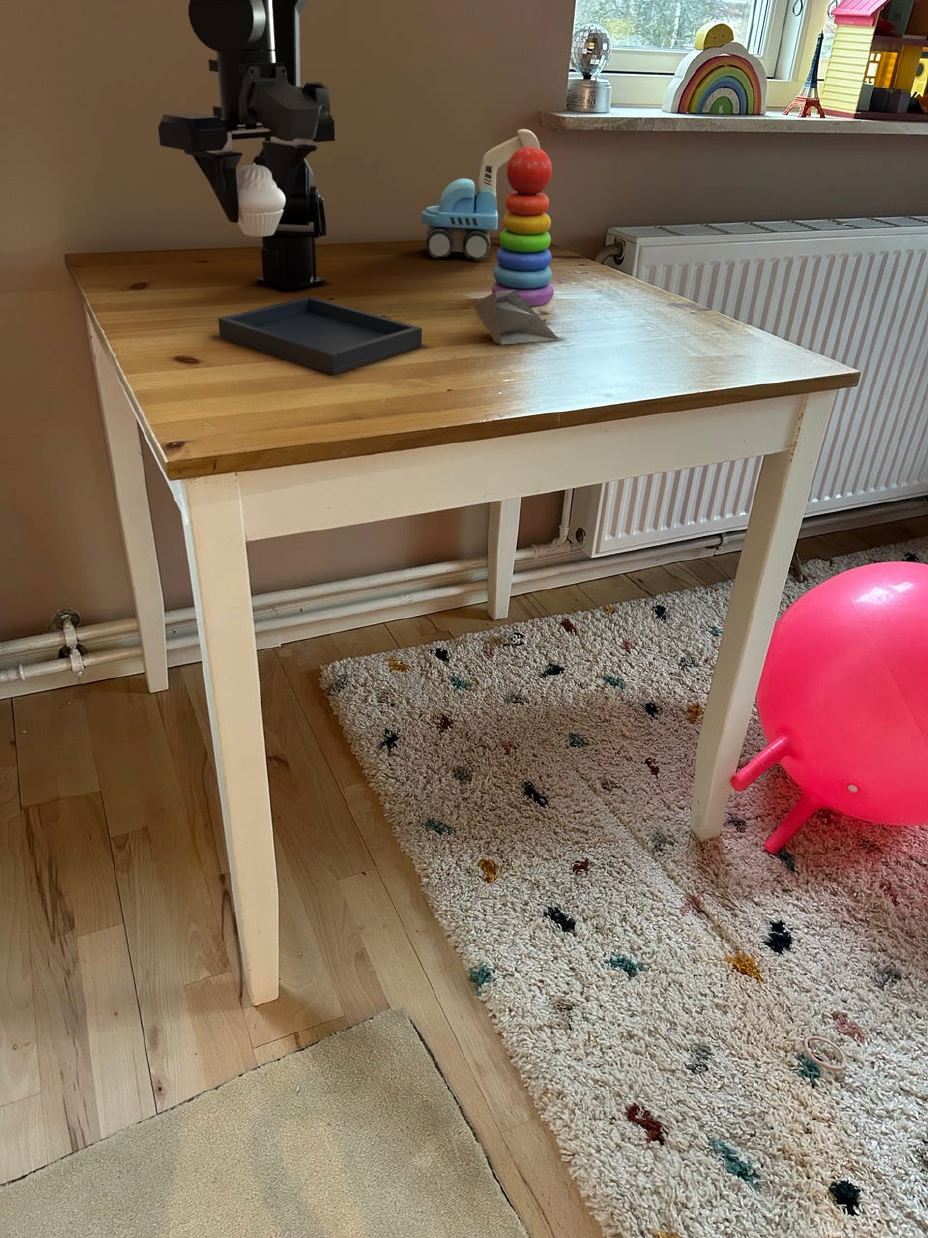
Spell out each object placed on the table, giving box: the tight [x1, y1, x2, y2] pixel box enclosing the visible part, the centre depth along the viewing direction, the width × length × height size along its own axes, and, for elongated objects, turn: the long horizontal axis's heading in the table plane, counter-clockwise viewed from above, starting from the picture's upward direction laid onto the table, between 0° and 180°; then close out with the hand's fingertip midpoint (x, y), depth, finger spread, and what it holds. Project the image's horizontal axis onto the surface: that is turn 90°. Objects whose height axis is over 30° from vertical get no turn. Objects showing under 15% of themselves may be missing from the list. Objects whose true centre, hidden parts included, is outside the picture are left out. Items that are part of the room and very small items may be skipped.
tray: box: [217, 296, 423, 376], centre depth 104 cm, size 14×18×2 cm
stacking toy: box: [491, 147, 555, 322], centre depth 112 cm, size 8×8×19 cm
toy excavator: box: [421, 128, 541, 262], centre depth 139 cm, size 9×17×17 cm, turn 89°
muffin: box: [236, 162, 286, 238], centre depth 101 cm, size 6×6×7 cm
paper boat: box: [471, 290, 560, 346], centre depth 106 cm, size 12×6×9 cm
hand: (257, 218), depth 102 cm, fingers closed on muffin, 6 cm apart
